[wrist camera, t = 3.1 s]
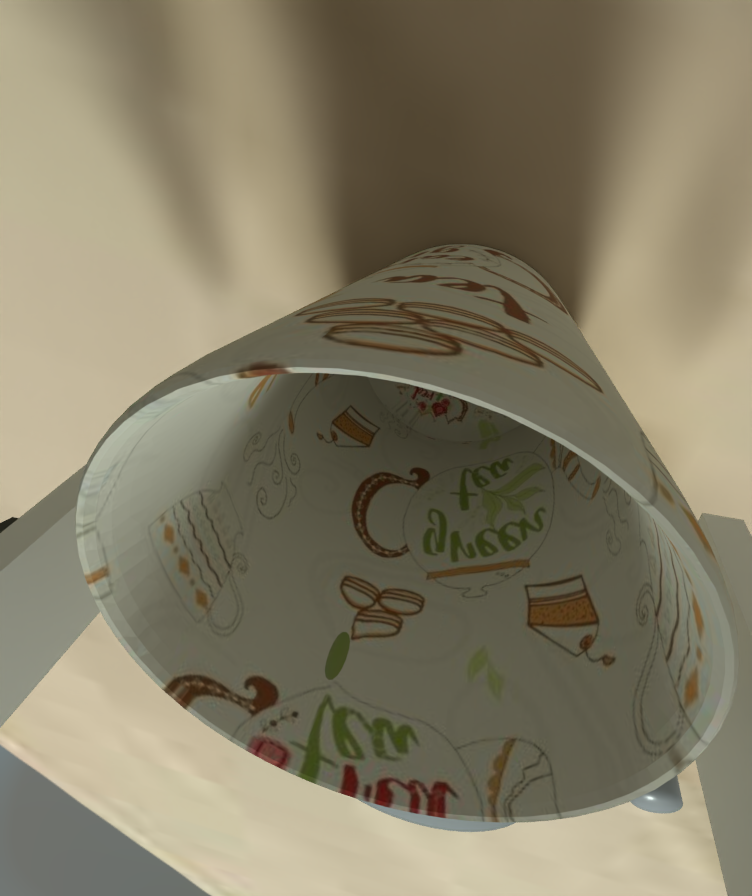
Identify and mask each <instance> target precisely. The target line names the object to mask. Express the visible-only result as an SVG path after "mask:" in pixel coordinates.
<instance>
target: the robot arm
mask: <svg viewBox="0 0 752 896" xmlns="http://www.w3.org/2000/svg"><path fill="white" fill-rule="evenodd" d="M86 465H87V464H86ZM86 465H85V466H83V467H82V468H81V469H80V470H78V471H77V472H76V473H75V474H73V475H72V476H71V477H70V478H68V479H67V480H66V481H65V482H64V483H62V484H61V485H60V486H59V487H57V488H56V489H55V490H54V491H52V492H51V493H50V494H49V495H47V496H46V497H45V498H44V499H42V500H41V501H40V502H39V503H37V504H36V505H35V506H34V507H32V508H31V509H30V510H29V511H27V512H26V513H25V514H24V515H22V516H21V517H20V518H14V517H12V518H10V519H8V520H6V521H4V522H2V523H0V727H1V726H2V725H3V724H4V723H5V722H6V720H7V719H8V718H9V717H10V716H11V715H12V714H13V712H14V711H15V710H16V709H17V708H18V707H19V705H20V704H21V703H22V702H23V701H24V700H25V698H26V697H27V696H28V695H29V694H30V693H31V691H32V690H33V689H34V688H35V687H36V686H37V684H38V683H39V682H40V681H41V680H42V679H43V677H44V676H45V675H46V674H47V673H48V672H49V670H50V669H51V668H52V667H53V666H54V665H55V663H56V662H57V661H58V660H59V659H60V658H61V656H62V655H63V654H64V653H65V652H66V651H67V650H68V648H69V647H70V646H71V645H72V644H73V643H74V641H75V640H76V639H77V638H78V637H79V636H80V634H81V633H82V632H83V631H84V630H85V629H86V627H87V626H88V625H89V624H90V623H91V622H92V620H93V619H94V618H95V617H96V616H97V615H98V613H99V612H100V610H99V608H98V606H97V605H96V603H95V600H94V598H93V596H92V593H91V591H90V589H89V586H88V584H87V582H86V579H85V576H84V572H83V569H82V565H81V561H80V558H79V553H78V546H77V539H76V531H75V514H76V499H77V494H78V490H79V485H80V481H81V478H82V475H83V473H84V470H85V468H86ZM698 523H699V525H700V527H701V528H702V530H703V532H704V534H705V536H706V538H707V540H708V542H709V544H710V546H711V548H712V551H713V553H714V555H715V557H716V560H717V562H718V564H719V567H720V569H721V572H722V575H723V578H724V581H725V584H726V587H727V589H728V592H729V595H730V598H731V601H732V604H733V608H734V614H735V620H736V626H737V631H738V645H739V670H738V680H737V687H736V691H735V694H734V698H733V701H732V704H731V708H730V710H729V712H728V714H727V716H726V718H725V720H724V722H723V724H722V726H721V728H720V730H719V732H718V733H717V734H716V736H715V737H714V738H713V740H712V741H711V742H710V744H709V745H708V747H707V748H706V749H705V750H704V751H703V752H702V753H701V754H700V755H699V756H698V757H697V758H696V759H695V760H696V765H697V769H698V773H699V777H700V781H701V786H702V790H703V794H704V798H705V802H706V807H707V811H708V815H709V819H710V823H711V828H712V832H713V836H714V840H715V844H716V849H717V853H718V857H719V861H720V865H721V870H722V874H723V878H724V882H725V886H726V891H727V895H728V896H752V536H751V534H750V532H749V530H748V528H747V526H746V524H745V522H744V520H741V519H735V518H729V517H723V516H717V515H712V514H706V513H702V515H701V517H700V519H699V521H698Z"/></svg>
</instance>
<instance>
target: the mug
mask: <svg viewBox="0 0 752 896" xmlns="http://www.w3.org/2000/svg"><path fill="white" fill-rule="evenodd" d="M75 531H76V539H77V546H78V553H79V558H80V561H81V565H82V569H83V572H84V576H85V579H86V582H87V584H88V586H89V589H90V591H91V593H92V596H93V598H94V600H95V603H96V605H97V606H98V608H99V610H100V612H101V614H102V615H103V617H104V619H105V621H106V622H107V624H108V625H109V627H110V628H111V630H112V631H113V633H114V635H115V636H116V638H117V639H118V640H119V642H120V643H121V644H122V645H123V647H124V648H125V649H126V651H127V652H128V653H129V655H130V656H131V657H132V658H133V659H134V660H135V661H136V663H137V664H138V665H139V666H140V667H141V668H142V669H143V671H144V672H145V673H146V674H147V675H148V676H149V677H150V678H151V679H152V680H153V681H154V682H155V683H156V684H157V685H158V686H159V687H160V688H161V689H162V690H164V691H165V692H166V693H167V694H168V695H169V696H171V697H172V698H173V699H174V700H175V701H176V702H177V703H179V704H180V705H181V706H182V707H183V708H185V709H186V710H187V711H188V712H190V713H191V714H192V715H194V716H195V717H196V718H198V719H199V720H200V721H202V722H203V723H204V724H206V725H207V726H209V727H210V728H212V729H213V730H214V731H216V732H217V733H219V734H220V735H222V736H223V737H225V738H226V739H228V740H230V741H231V742H233V743H235V744H236V745H238V746H240V747H241V748H243V749H245V750H246V751H248V752H250V753H252V754H254V755H255V756H257V757H259V758H261V759H263V760H265V761H266V762H268V763H270V764H273V765H275V766H277V767H279V768H281V769H283V770H285V771H287V772H289V773H291V774H294V775H296V776H298V777H300V778H303V779H305V780H307V781H310V782H312V783H315V784H317V785H320V786H322V787H325V788H328V789H330V790H333V791H335V792H338V793H341V794H344V795H347V796H350V797H354V798H357V799H360V800H363V801H366V802H370V803H373V804H377V805H381V806H384V807H388V808H393V809H397V810H402V811H406V812H411V813H415V814H421V815H427V816H433V817H440V818H447V819H456V820H465V821H477V822H500V823H506V822H535V821H548V820H556V819H563V818H569V817H576V816H581V815H585V814H589V813H594V812H598V811H602V810H606V809H609V808H612V807H615V806H618V805H621V804H624V803H627V802H629V801H631V800H634V799H636V798H638V797H640V796H642V795H644V794H647V793H649V792H651V791H653V790H655V789H657V788H658V787H660V786H661V785H663V784H664V783H666V782H667V781H669V780H670V779H672V778H674V777H675V776H677V775H678V774H679V773H680V772H682V771H683V770H684V769H685V768H686V767H688V766H689V765H690V764H691V763H692V762H693V761H694V760H695V759H696V758H697V757H698V756H699V755H700V754H701V753H702V752H703V751H704V750H705V749H706V748H707V747H708V745H709V744H710V742H711V741H712V740H713V738H714V737H715V736H716V734H717V733H718V732H719V730H720V728H721V726H722V724H723V722H724V720H725V718H726V716H727V714H728V712H729V710H730V708H731V704H732V701H733V698H734V694H735V691H736V687H737V680H738V670H739V645H738V631H737V626H736V620H735V614H734V608H733V604H732V601H731V598H730V595H729V592H728V589H727V587H726V584H725V581H724V578H723V575H722V572H721V569H720V567H719V564H718V562H717V560H716V557H715V555H714V553H713V551H712V548H711V546H710V544H709V542H708V540H707V538H706V536H705V534H704V532H703V530H702V528H701V527H700V525H699V523H698V521H697V519H696V517H695V516H694V514H693V512H692V510H691V508H690V507H689V505H688V503H687V501H686V500H685V498H684V496H683V494H682V493H681V491H680V489H679V488H678V486H677V485H676V483H675V481H674V480H673V478H672V477H671V475H670V473H669V472H668V470H667V469H666V467H665V465H664V464H663V462H662V461H661V459H660V457H659V456H658V454H657V453H656V451H655V449H654V448H653V446H652V445H651V443H650V442H649V440H648V438H647V437H646V435H645V434H644V432H643V430H642V429H641V427H640V426H639V424H638V422H637V421H636V419H635V418H634V416H633V414H632V413H631V411H630V410H629V408H628V406H627V405H626V403H625V402H624V400H623V399H622V397H621V395H620V394H619V392H618V391H617V389H616V387H615V386H614V384H613V383H612V381H611V379H610V378H609V376H608V375H607V373H606V371H605V370H604V368H603V367H602V365H601V363H600V362H599V360H598V359H597V357H596V356H595V354H594V352H593V351H592V349H591V348H590V346H589V344H588V343H587V341H586V340H585V338H584V336H583V335H582V333H581V332H580V330H579V328H578V327H577V325H576V324H575V322H574V320H573V319H572V317H571V316H570V314H569V313H568V311H567V309H566V308H565V306H564V305H563V303H562V301H561V300H560V298H559V297H558V295H557V294H556V293H555V291H554V290H553V289H552V288H551V286H550V285H549V284H548V283H547V282H546V280H545V279H544V278H543V277H542V276H541V275H540V274H538V273H537V272H536V271H535V270H534V269H532V268H531V267H530V266H528V265H527V264H526V263H524V262H522V261H521V260H519V259H517V258H516V257H514V256H511V255H509V254H507V253H505V252H502V251H499V250H496V249H493V248H489V247H485V246H479V245H470V244H451V245H443V246H437V247H433V248H429V249H426V250H423V251H420V252H417V253H415V254H412V255H410V256H408V257H405V258H403V259H401V260H399V261H397V262H395V263H393V264H391V265H389V266H387V267H385V268H383V269H381V270H379V271H377V272H375V273H373V274H371V275H369V276H367V277H365V278H363V279H360V280H358V281H356V282H354V283H352V284H350V285H348V286H346V287H344V288H342V289H340V290H338V291H336V292H334V293H332V294H330V295H328V296H326V297H324V298H322V299H320V300H318V301H316V302H314V303H311V304H309V305H307V306H305V307H303V308H301V309H299V310H297V311H295V312H293V313H291V314H289V315H287V316H285V317H283V318H281V319H279V320H277V321H275V322H273V323H271V324H269V325H267V326H265V327H262V328H260V329H258V330H256V331H254V332H252V333H250V334H248V335H246V336H244V337H242V338H240V339H238V340H236V341H234V342H232V343H230V344H228V345H226V346H224V347H222V348H220V349H218V350H216V351H213V352H211V353H209V354H207V355H206V356H204V357H202V358H200V359H199V360H197V361H195V362H194V363H192V364H190V365H189V366H187V367H185V368H183V369H182V370H180V371H178V372H177V373H175V374H173V375H172V376H170V377H169V378H167V379H166V380H164V381H163V382H161V383H160V384H158V385H157V386H155V387H154V388H152V389H151V390H150V391H149V392H147V393H146V394H145V395H144V396H142V397H141V398H140V399H139V400H137V401H136V402H135V403H133V404H132V405H131V406H130V407H129V408H128V409H127V410H126V411H125V412H124V413H123V414H122V415H121V416H120V417H119V418H118V419H117V420H116V421H115V422H114V423H113V424H112V426H111V427H110V428H109V430H108V431H107V432H106V434H105V435H104V436H103V438H102V439H101V440H100V442H99V443H98V445H97V447H96V448H95V450H94V452H93V453H92V455H91V457H90V458H89V460H88V462H87V465H86V468H85V470H84V473H83V475H82V478H81V481H80V485H79V490H78V494H77V499H76V514H75Z"/></svg>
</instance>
